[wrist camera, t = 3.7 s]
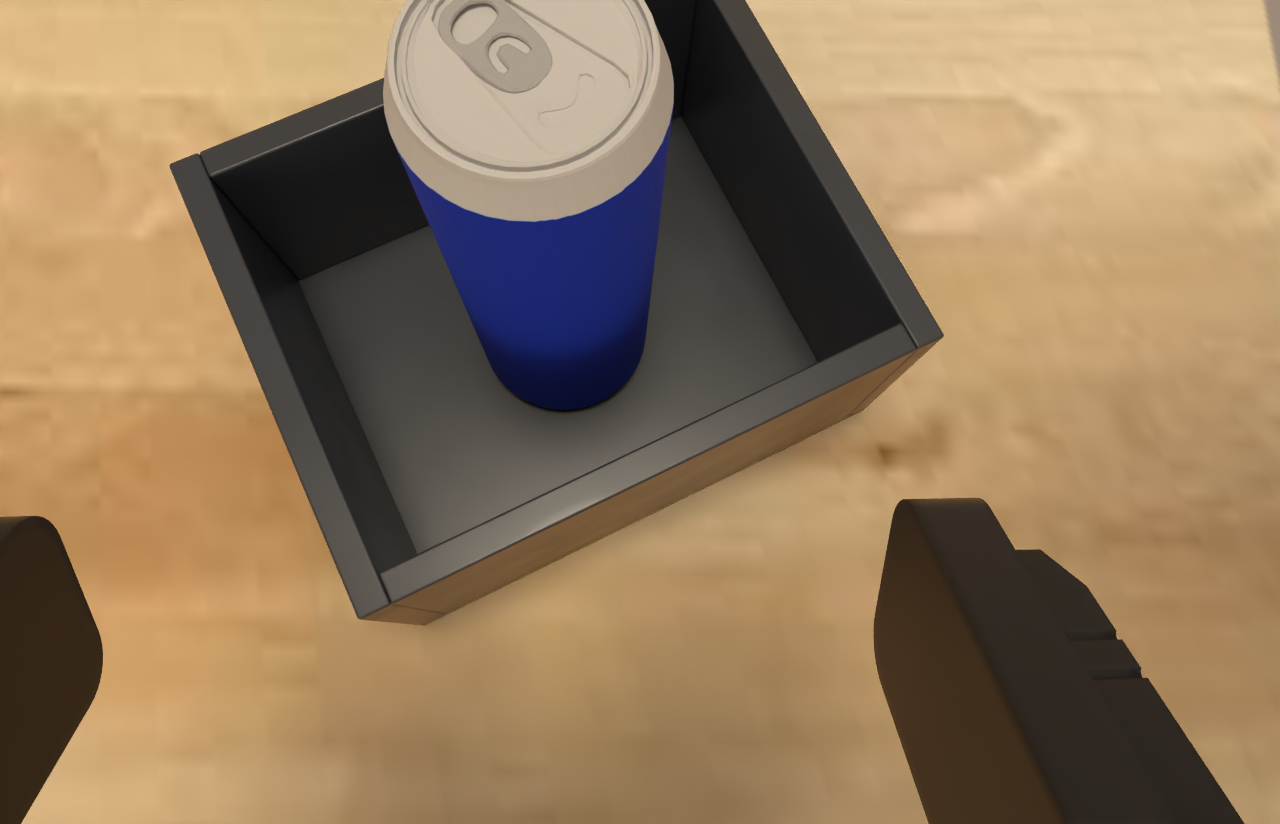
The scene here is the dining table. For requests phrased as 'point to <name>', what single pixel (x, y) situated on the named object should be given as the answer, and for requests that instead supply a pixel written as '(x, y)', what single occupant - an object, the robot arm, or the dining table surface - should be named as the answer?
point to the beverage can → (539, 177)
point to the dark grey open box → (458, 367)
